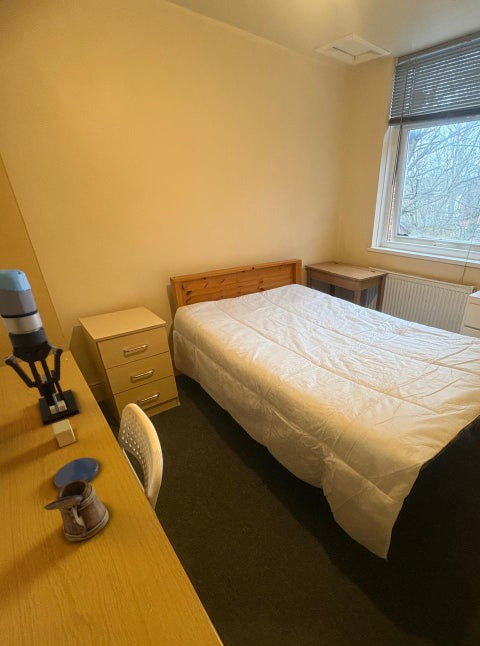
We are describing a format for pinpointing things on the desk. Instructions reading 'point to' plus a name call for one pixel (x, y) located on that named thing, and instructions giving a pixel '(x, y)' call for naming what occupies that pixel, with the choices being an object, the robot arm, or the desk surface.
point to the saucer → (76, 471)
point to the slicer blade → (58, 411)
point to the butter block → (63, 432)
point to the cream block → (61, 406)
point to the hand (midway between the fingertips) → (52, 403)
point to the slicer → (60, 396)
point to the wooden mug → (79, 510)
